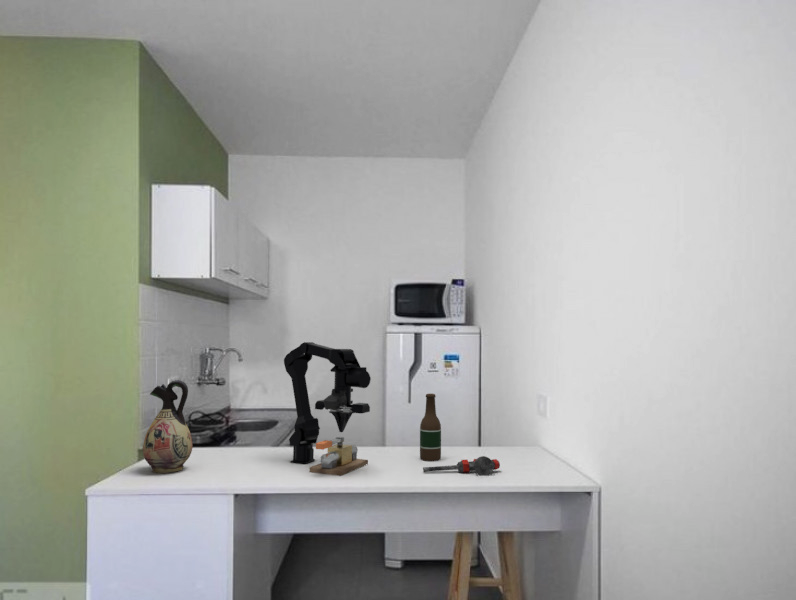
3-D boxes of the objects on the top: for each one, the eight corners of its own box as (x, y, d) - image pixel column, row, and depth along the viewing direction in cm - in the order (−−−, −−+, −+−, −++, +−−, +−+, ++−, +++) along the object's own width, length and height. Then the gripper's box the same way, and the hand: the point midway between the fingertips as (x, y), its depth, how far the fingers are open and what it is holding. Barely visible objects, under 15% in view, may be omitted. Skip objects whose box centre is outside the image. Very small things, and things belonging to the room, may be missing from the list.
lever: (338, 441, 194) (338, 435, 194) (345, 441, 193) (345, 436, 193) (315, 448, 179) (315, 443, 179) (323, 449, 178) (323, 443, 178)
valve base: (309, 471, 185) (309, 445, 186) (338, 461, 202) (338, 436, 203) (340, 475, 180) (341, 448, 181) (367, 464, 197) (368, 439, 198)
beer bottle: (415, 459, 207) (415, 393, 208) (430, 456, 212) (430, 392, 214) (430, 462, 201) (430, 395, 203) (445, 459, 206) (445, 394, 208)
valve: (493, 472, 196) (504, 475, 182) (420, 476, 194) (425, 480, 180) (492, 453, 198) (503, 455, 183) (419, 457, 196) (424, 459, 181)
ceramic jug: (132, 475, 178) (136, 381, 181) (155, 465, 194) (158, 378, 196) (184, 476, 178) (187, 381, 180) (203, 465, 193) (206, 378, 195)
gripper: (306, 385, 187) (304, 432, 186) (354, 389, 179) (353, 438, 178) (324, 383, 197) (323, 428, 196) (371, 386, 189) (369, 433, 188)
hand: (341, 432), depth 189 cm, fingers closed
